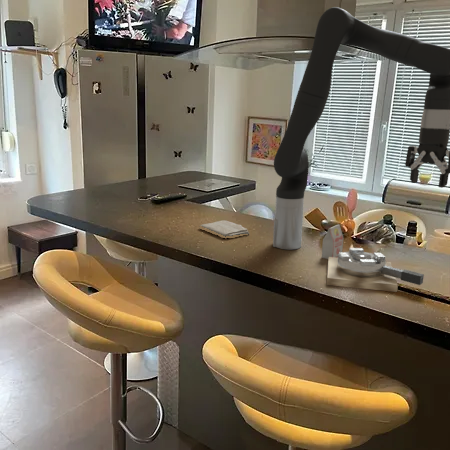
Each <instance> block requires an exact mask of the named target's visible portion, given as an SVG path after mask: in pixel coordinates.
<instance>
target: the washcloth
mask: <svg viewBox="0 0 450 450" xmlns="http://www.w3.org/2000/svg"><path fill="white" fill-rule="evenodd" d="M200 226H202V227H204V228H207V229H209V230H211V231H214V232H216V233H218V234H221V235H223V236H225V237H226V236H233V235H240V234H249V235H250V232H249V230H248V228H246V227H243V226H242V224H238V223H235V222H232V221H228V220H226V219H225V220H217V221H214V222H209V223H203V224H200V225H199V227H200Z"/></svg>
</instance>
